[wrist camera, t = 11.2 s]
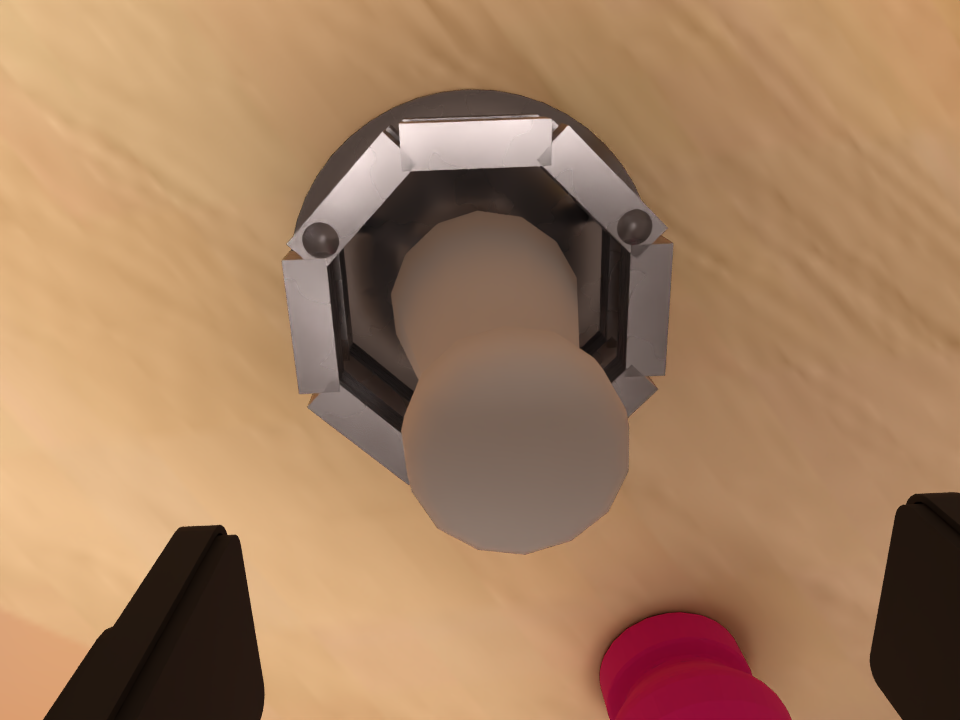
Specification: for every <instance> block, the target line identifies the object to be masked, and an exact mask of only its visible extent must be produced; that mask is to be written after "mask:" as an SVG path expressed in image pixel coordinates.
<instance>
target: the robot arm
mask: <svg viewBox="0 0 960 720" xmlns="http://www.w3.org/2000/svg"><path fill="white" fill-rule="evenodd" d="M870 667H871V671H872V675H873V677H874V680H875V682H876V683H877V685H878V687H879V688H880V689H881V691H882V692H883V693H884V695H885V696H886V698H887V699H888V700H889V702H890V703H891V704H892V706H893V707H894V709H895V710H896V711H897V713H898V714H899V716H900V717H901V718H902V720H960V493H955V492H948V493H926V494H915V495H913V496H911V497H910V498H909V499H908V501H907V503H906V505H902V506H900V507H899V508H898V510H897V512H896V515H895V520H894V525H893V531H892V536H891V542H890V547H889V553H888V559H887V564H886V570H885V575H884V581H883V586H882V592H881V597H880V603H879V608H878V614H877V619H876V625H875V631H874V636H873V642H872V647H871V653H870ZM263 706H264V682H263V676H262V670H261V664H260V658H259V652H258V646H257V640H256V634H255V628H254V622H253V616H252V610H251V604H250V598H249V592H248V585H247V579H246V573H245V567H244V561H243V555H242V549H241V544H240V540H239V538H238V536H237V535H227V532H226V530H225V528H224V527H223V526H222V525H210V526H188V527H180V528H178V529H177V531H176V532H175V533H174V535H173V536H172V538H171V539H170V541H169V542H168V544H167V545H166V547H165V548H164V550H163V551H162V553H161V554H160V556H159V557H158V559H157V561H156V562H155V564H154V565H153V567H152V568H151V570H150V571H149V573H148V574H147V576H146V577H145V579H144V580H143V582H142V583H141V585H140V586H139V588H138V589H137V591H136V593H135V594H134V596H133V597H132V599H131V600H130V602H129V603H128V605H127V606H126V608H125V609H124V611H123V612H122V614H121V615H120V617H119V618H118V620H117V621H116V623H115V624H114V626H113V627H111V628H108V629H106V630H105V631H104V632H103V633H102V634H101V635H100V636H99V637H98V639H97V640H96V642H95V643H94V645H93V646H92V648H91V649H90V650H89V652H88V653H87V655H86V656H85V658H84V660H83V661H82V662H81V664H80V665H79V667H78V669H77V670H76V671H75V673H74V674H73V676H72V677H71V679H70V680H69V682H68V683H67V685H66V686H65V688H64V689H63V691H62V692H61V694H60V695H59V697H58V698H57V700H56V701H55V703H54V704H53V706H52V707H51V709H50V710H49V712H48V713H47V715H46V716H45V718H44V719H43V720H260V719H261V716H262V712H263Z"/></svg>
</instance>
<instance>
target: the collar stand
mask: <svg viewBox="0 0 960 720" xmlns="http://www.w3.org/2000/svg"><path fill="white" fill-rule="evenodd" d="M475 211H483V212H490V213H497V214H504V215H512V216H519V217H522V218H524V219H525V220H526V221H528V222H529V223H531V224H532V225H534V226H535V227H536V228H538V229H539V230H541V231H542V232H544V233H545V234H546V235H548V236H549V237H551V238H552V239H554V240H555V241H556V242H557V243H558V245H559V247H560V249H561V251H562V252H563V254H564V256H565V258H566V260H567V261H568V263H569V265H570V267H571V268H572V270H573V272H574V274H575V276H576V277H577V299H578V326H579V348H580V349H581V350H583V351H584V352H586V353H587V354H589V355H590V356H592V357H593V358H595V360H596V361H597V362H598V364H599V365H600V366H601V367H602V369H603V370H604V372H605V374H606V375H607V377H608V379H609V381H610V382H611V384H612V386H613V388H614V389H615V391H616V393H617V395H618V396H619V398H620V400H621V402H622V403H623V405H624V407H625V409H626V412H627V418H628V417H629V416H630V415H631V414H632V413H633V412H634V411H635V410H636V409H638V408H639V407H640V406H641V405H642V404H643V403H644V402H645V401H646V400H647V399H648V398H649V397H650V396H652V395H653V394H654V393H655V392H656V391H657V390H658V388H657V387H656V385H655V384H654V383H653V381H652V380H651V379H650V377H649V376H663V375H665V369H666V353H667V337H668V321H669V306H670V290H671V274H672V258H673V243H672V242H671V241H669V240H668V239H666V238H665V237H663V236H662V235H661V234H662V233H663V232H664V231H666V230H667V229H668V227H667V226H666V225H665V224H664V223H663V222H662V221H661V220H660V219H659V218H658V217H657V216H656V215H655V214H654V213H653V212H652V211H651V210H650V209H649V208H648V207H647V206H646V205H645V204H644V203H643V202H642V201H641V199H640V196H639V194H638V192H637V190H636V187H635V185H634V183H633V182H632V180H631V178H630V177H629V175H628V174H627V172H626V170H625V169H624V167H623V166H622V164H621V163H620V162H619V160H618V159H617V158H616V157H615V156H614V154H613V153H612V152H611V151H610V150H609V148H608V147H607V146H606V145H605V144H604V143H603V142H602V141H601V140H600V139H599V138H597V137H596V136H595V135H594V134H593V133H592V132H591V131H590V130H589V129H588V128H586V127H585V126H583V125H582V124H580V123H579V122H577V121H576V120H574V119H573V118H571V117H570V116H568V115H567V114H565V113H563V112H561V111H559V110H557V109H555V108H553V107H551V106H549V105H547V104H545V103H542V102H539V101H536V100H533V99H530V98H527V97H524V96H521V95H516V94H511V93H505V92H499V91H494V90H468V89H467V90H457V91H448V92H440V93H436V94H432V95H428V96H424V97H420V98H416V99H414V100H412V101H409V102H407V103H404V104H402V105H399V106H397V107H394V108H392V109H390V110H389V111H387V112H385V113H383V114H382V115H380V116H378V117H377V118H375V119H373V120H371V121H370V122H368V123H367V124H366V125H365V126H363V127H362V128H361V129H359V130H358V131H357V132H356V133H354V134H353V135H352V136H350V137H349V138H348V139H347V140H346V141H345V142H344V144H343V145H342V146H341V147H340V148H339V149H338V150H337V151H336V152H335V153H334V154H333V155H332V156H331V157H330V159H329V160H328V162H327V163H326V164H325V166H324V167H323V168H322V170H321V171H320V173H319V174H318V175H317V177H316V179H315V181H314V183H313V184H312V186H311V188H310V190H309V192H308V194H307V196H306V198H305V200H304V203H303V206H302V208H301V211H300V214H299V217H298V219H297V223H296V228H295V232H294V236H293V237H292V238H291V239H290V241H289V242H288V243H287V245H288V246H289V247H290V248H291V251H289V253H288V254H287V255H286V256H285V257H284V258H283V259H282V267H283V275H284V282H285V290H286V298H287V305H288V313H289V321H290V328H291V336H292V343H293V351H294V359H295V366H296V374H297V382H298V389H299V394H311V393H313V394H312V396H311V399H310V401H309V404H308V406H307V408H308V409H310V410H311V411H312V412H314V413H315V414H316V415H318V416H319V417H320V418H322V419H323V420H324V421H325V422H327V423H328V424H329V425H331V426H332V427H333V428H335V429H336V430H337V431H339V432H340V433H341V434H342V435H344V436H345V437H346V438H348V439H349V440H350V441H352V442H353V443H354V444H356V445H357V446H358V447H360V448H361V449H362V450H363V451H365V452H366V453H367V454H369V455H370V456H371V457H373V458H374V459H375V460H377V461H378V462H379V463H380V464H382V465H383V466H384V467H386V468H387V469H388V470H390V471H391V472H392V473H394V474H395V475H396V476H397V477H399V478H400V479H401V480H403V481H404V482H405V483H407V484H408V485H410V483H409V479H408V476H407V469H406V462H405V454H404V447H403V440H402V433H401V429H402V424H403V420H404V415H405V413H406V410H407V408H408V406H409V403H410V401H411V398H412V396H413V393H414V391H415V388H416V386H417V383H418V381H419V380H418V378H417V376H416V374H415V372H414V370H413V368H412V365H411V363H410V361H409V359H408V357H407V355H406V353H405V351H404V349H403V347H402V345H401V343H400V341H399V339H398V337H397V335H396V329H395V322H394V314H393V306H392V299H391V292H392V290H393V287H394V284H395V281H396V279H397V276H398V273H399V270H400V268H401V265H402V262H403V260H404V257H405V254H406V253H407V252H408V251H409V250H410V249H411V248H412V247H414V246H415V245H416V244H417V243H418V242H419V241H420V240H421V239H422V238H423V237H424V236H425V235H426V234H427V233H428V232H429V231H430V230H431V229H432V228H433V227H434V226H435V225H437V224H438V223H440V222H444V221H447V220H450V219H453V218H456V217H459V216H462V215H465V214H469V213H472V212H475Z"/></svg>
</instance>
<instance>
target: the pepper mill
mask: <svg viewBox="0 0 960 720" xmlns="http://www.w3.org/2000/svg"><path fill="white" fill-rule="evenodd" d="M600 686H601V690H602V694H603V697H604V701H605V705H606V708H607V712H608V715H609V718H610V720H792V719H791V717H790V715H789V713H788V710H787V709H786V707H785V706H784V704H783V703H782V701H781V700H780V699H779V697H778V696H777V695H776V693H774V692H773V691H772V690H771V689H770V688H769V687H768V686H767V685H765V684H764V683H763V682H762V681H760V680H758V679H757V678H755V677H753V676H752V673H751V670H750V668H749V666H748V664H747V662H746V660H745V658H744V656H743V655H742V653H741V651H740V649H739V647H738V645H737V643H736V641H735V639H734V638H733V637H732V635H731V634H730V633H729V632H728V631H727V630H726V629H725V628H724V627H723V626H721V625H720V624H719V623H717V622H716V621H714V620H712V619H709V618H707V617H705V616H702V615H697V614H690V613H683V612H675V613H665V614H661V615H657V616H653V617H649V618H646V619H644V620H642V621H640V622H639V623H637V624H635V625H633V626H631V627H629V628H627V629H626V630H625V631H624V632H623V633H622V634H621V635H620V636H619V637H618V638H617V639H615V640H614V641H613V643H612V644H611V646H610V648H609V649H608V651H607V652H606V654H605V656H604V658H603V661H602V664H601V668H600Z"/></svg>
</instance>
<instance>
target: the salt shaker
mask: <svg viewBox="0 0 960 720" xmlns="http://www.w3.org/2000/svg"><path fill="white" fill-rule="evenodd" d="M391 299H392V306H393V314H394V322H395V329H396V335H397V337H398V339H399V341H400V343H401V345H402V347H403V349H404V351H405V353H406V355H407V357H408V359H409V361H410V363H411V365H412V368H413V370H414V372H415V374H416V376H417V378H418V380H419V381H418V383H417V386H416V388H415V391H414V393H413V396H412V398H411V401H410V403H409V406H408V408H407V410H406V413H405V415H404V420H403V424H402V429H401V433H402V440H403V447H404V454H405V462H406V469H407V476H408V479H409V483H410V486H411V490H412V492H413V494H414V495H415V497H416V498H417V500H418V501H419V503H420V504H421V505H422V507H423V508H424V510H425V511H426V513H427V514H428V515H429V517H430V518H431V520H432V521H433V523H434V524H435V526H436V527H437V528H438V529H440V530H442V531H444V532H445V533H447V534H449V535H451V536H453V537H455V538H457V539H459V540H461V541H463V542H464V543H466V544H468V545H470V546H472V547H474V548H476V549H478V550H486V551H495V552H505V553H514V554H524V555H526V554H529V553H532V552H535V551H539V550H542V549H545V548H549V547H552V546H555V545H559V544H562V543H565V542H568V541H571V540H573V539H574V538H575V537H576V536H578V535H579V534H580V533H582V532H583V531H584V530H585V529H587V528H588V527H589V526H591V525H592V524H593V523H594V522H596V521H597V520H598V519H600V518H601V517H602V516H603V515H605V514H606V513H607V512H608V511H609V509H610V507H611V505H612V503H613V501H614V499H615V497H616V495H617V493H618V491H619V489H620V487H621V485H622V483H623V481H624V479H625V477H626V475H627V473H628V467H629V424H628V418H627V412H626V409H625V407H624V405H623V403H622V402H621V400H620V398H619V396H618V395H617V393H616V391H615V389H614V388H613V386H612V384H611V382H610V381H609V379H608V377H607V375H606V374H605V372H604V370H603V369H602V367H601V366H600V365H599V364H598V362H597V361H596V360H595V358H593V357H592V356H590V355H589V354H587V353H586V352H584V351H583V350H581V349H580V348H579V326H578V299H577V277H576V276H575V274H574V272H573V270H572V268H571V267H570V265H569V263H568V261H567V260H566V258H565V256H564V254H563V252H562V251H561V249H560V247H559V245H558V243H557V242H556V241H555V240H554V239H552V238H551V237H549V236H548V235H546V234H545V233H544V232H542V231H541V230H539V229H538V228H536V227H535V226H534V225H532V224H531V223H529V222H528V221H526V220H525V219H524V218H522V217H519V216H512V215H504V214H497V213H490V212H483V211H475V212H472V213H469V214H465V215H462V216H459V217H456V218H453V219H450V220H447V221H444V222H440V223H438V224H437V225H435V226H434V227H433V228H432V229H431V230H430V231H429V232H428V233H427V234H426V235H425V236H424V237H423V238H422V239H421V240H420V241H419V242H418V243H417V244H416V245H415V246H414V247H412V248H411V249H410V250H409V251H408V252H407V253H406V254H405V257H404V260H403V262H402V265H401V268H400V270H399V273H398V276H397V279H396V281H395V284H394V287H393V290H392V292H391Z"/></svg>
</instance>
